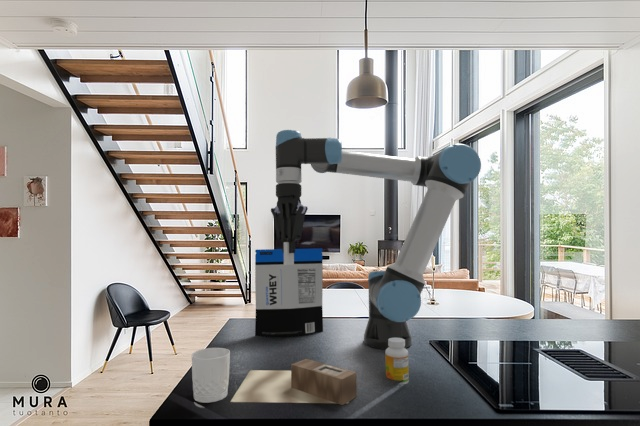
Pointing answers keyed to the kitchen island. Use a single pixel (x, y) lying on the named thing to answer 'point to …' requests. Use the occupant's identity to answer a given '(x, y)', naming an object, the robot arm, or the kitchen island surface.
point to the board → (272, 389)
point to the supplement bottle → (397, 360)
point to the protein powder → (288, 293)
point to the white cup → (210, 374)
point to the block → (324, 381)
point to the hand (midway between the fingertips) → (288, 264)
